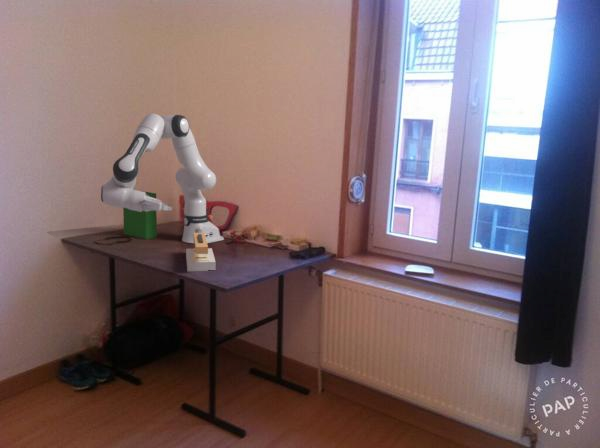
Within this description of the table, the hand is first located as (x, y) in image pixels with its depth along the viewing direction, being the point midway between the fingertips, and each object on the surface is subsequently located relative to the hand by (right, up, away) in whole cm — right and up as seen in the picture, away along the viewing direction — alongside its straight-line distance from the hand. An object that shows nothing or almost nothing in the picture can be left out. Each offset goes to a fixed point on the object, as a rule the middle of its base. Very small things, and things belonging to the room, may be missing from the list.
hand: (171, 208), depth 230 cm
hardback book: (-31, -14, +57) cm, 66 cm away
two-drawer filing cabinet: (+10, -24, +11) cm, 29 cm away
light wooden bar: (+11, -17, +7) cm, 21 cm away
